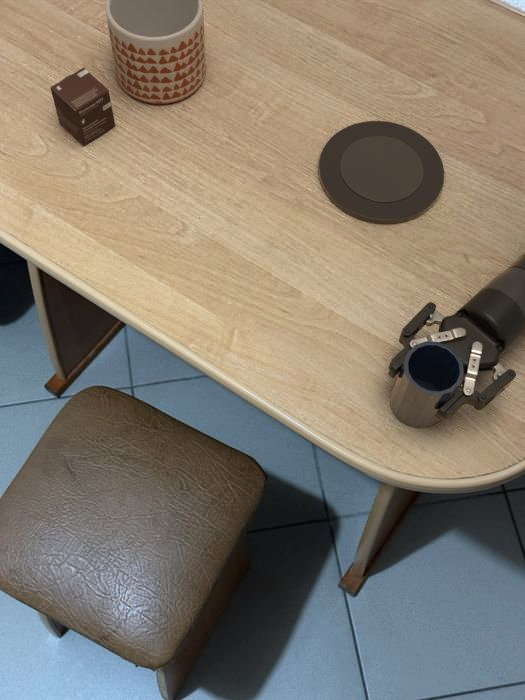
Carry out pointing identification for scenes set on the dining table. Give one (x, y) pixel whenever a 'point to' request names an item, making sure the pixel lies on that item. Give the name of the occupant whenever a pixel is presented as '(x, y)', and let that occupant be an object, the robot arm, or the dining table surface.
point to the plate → (381, 172)
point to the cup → (425, 383)
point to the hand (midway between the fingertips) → (414, 394)
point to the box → (83, 106)
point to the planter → (157, 47)
